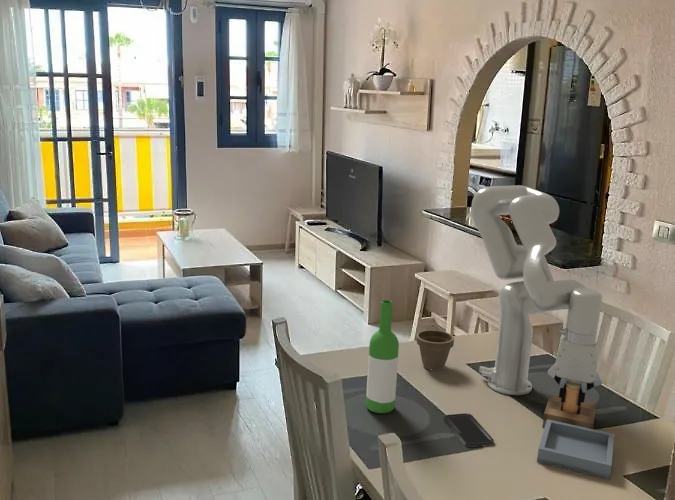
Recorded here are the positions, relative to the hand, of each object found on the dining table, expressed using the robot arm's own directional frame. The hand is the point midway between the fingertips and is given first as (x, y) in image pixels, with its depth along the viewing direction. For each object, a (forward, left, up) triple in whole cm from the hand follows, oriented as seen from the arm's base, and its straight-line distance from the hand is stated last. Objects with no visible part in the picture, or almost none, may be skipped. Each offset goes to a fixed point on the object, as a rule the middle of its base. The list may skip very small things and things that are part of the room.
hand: (571, 401), depth 180 cm
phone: (-23, -17, -7) cm, 29 cm away
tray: (+3, -16, -6) cm, 17 cm away
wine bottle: (-47, -16, -6) cm, 50 cm away
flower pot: (-42, +18, -6) cm, 46 cm away
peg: (0, 0, -6) cm, 6 cm away
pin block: (0, 0, -6) cm, 6 cm away
